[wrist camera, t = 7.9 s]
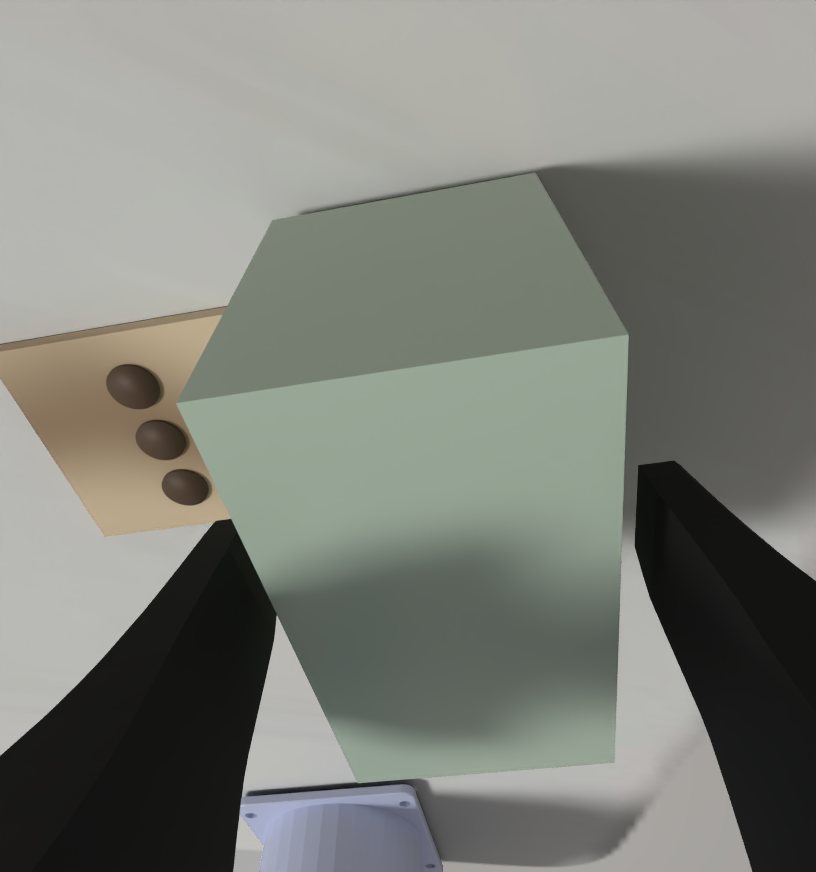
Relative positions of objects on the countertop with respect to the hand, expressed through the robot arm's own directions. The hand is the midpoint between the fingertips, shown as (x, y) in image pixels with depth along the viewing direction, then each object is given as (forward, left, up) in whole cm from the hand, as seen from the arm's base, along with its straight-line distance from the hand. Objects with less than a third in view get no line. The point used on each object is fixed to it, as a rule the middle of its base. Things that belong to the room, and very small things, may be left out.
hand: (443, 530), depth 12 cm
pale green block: (0, 0, -4) cm, 4 cm away
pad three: (0, +7, -5) cm, 8 cm away
